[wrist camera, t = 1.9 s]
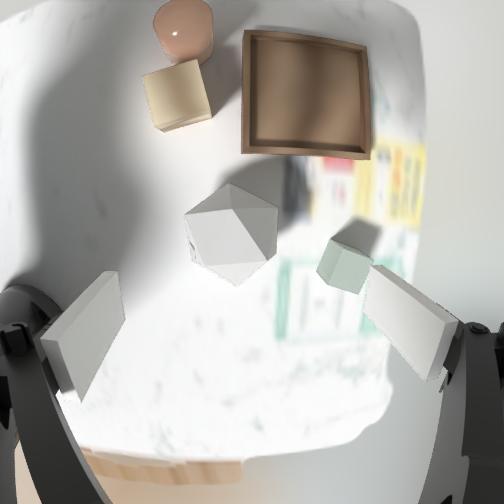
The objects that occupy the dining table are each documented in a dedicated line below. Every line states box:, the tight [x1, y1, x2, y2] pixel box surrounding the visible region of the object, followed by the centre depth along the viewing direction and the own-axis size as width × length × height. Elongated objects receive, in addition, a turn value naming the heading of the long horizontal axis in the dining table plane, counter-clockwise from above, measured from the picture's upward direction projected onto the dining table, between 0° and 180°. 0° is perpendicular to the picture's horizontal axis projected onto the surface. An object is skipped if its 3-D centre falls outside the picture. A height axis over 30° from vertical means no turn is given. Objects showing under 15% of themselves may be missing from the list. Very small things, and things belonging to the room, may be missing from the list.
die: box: [184, 183, 278, 287], centre depth 27 cm, size 8×9×10 cm
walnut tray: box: [241, 30, 371, 160], centre depth 27 cm, size 13×13×2 cm
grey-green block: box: [316, 239, 374, 295], centre depth 31 cm, size 4×4×4 cm
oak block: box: [142, 59, 212, 133], centre depth 24 cm, size 5×5×5 cm
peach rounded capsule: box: [153, 0, 214, 65], centre depth 22 cm, size 5×5×7 cm
